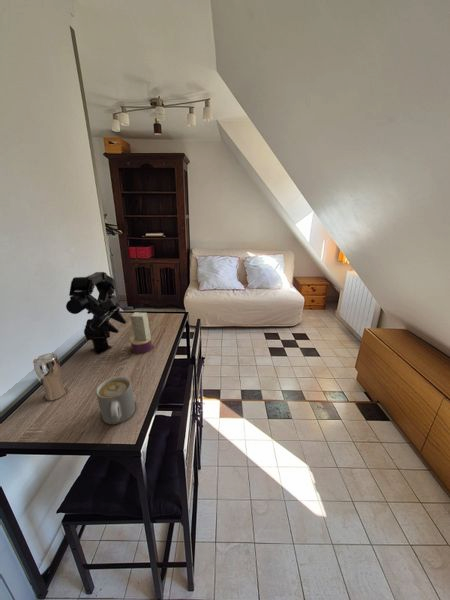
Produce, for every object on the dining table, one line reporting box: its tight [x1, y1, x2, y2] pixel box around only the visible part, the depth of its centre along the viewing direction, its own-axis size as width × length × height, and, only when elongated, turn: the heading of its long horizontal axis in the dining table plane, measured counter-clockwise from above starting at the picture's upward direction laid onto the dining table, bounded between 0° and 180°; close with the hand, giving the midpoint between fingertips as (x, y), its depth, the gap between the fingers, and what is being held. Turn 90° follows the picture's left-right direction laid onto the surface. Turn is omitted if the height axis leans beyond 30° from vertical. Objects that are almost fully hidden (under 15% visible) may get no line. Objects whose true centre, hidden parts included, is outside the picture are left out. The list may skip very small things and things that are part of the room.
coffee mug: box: [95, 376, 136, 425], centre depth 77 cm, size 13×10×10 cm
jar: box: [129, 334, 153, 354], centre depth 116 cm, size 9×9×6 cm
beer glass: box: [32, 352, 67, 401], centre depth 86 cm, size 7×7×15 cm
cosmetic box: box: [129, 311, 151, 340], centre depth 113 cm, size 6×4×12 cm
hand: (122, 327), depth 109 cm, fingers open, 9 cm apart
